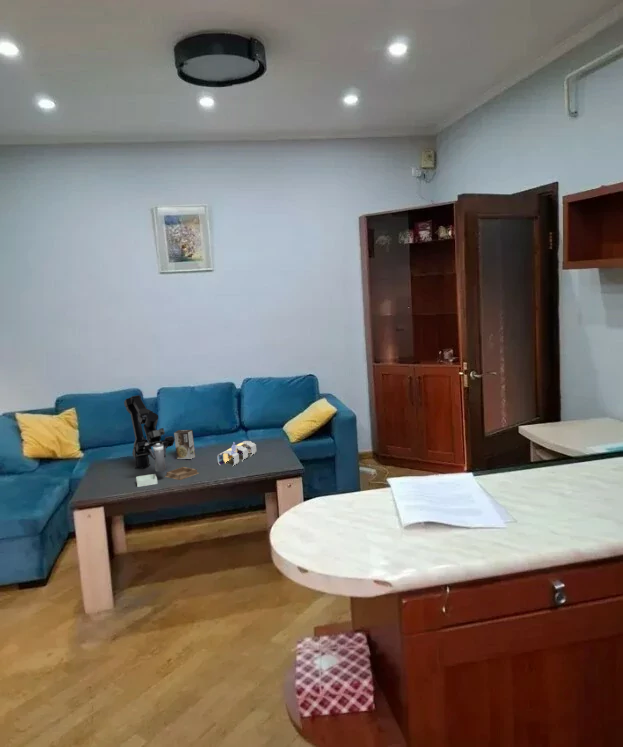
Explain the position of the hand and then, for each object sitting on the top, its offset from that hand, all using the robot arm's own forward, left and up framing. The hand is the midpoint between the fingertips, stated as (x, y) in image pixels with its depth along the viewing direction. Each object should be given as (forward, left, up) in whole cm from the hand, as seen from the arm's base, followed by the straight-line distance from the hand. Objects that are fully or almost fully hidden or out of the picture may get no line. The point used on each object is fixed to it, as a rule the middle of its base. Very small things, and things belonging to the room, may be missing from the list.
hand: (160, 458), depth 298 cm
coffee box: (-5, +42, -13) cm, 44 cm away
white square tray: (-7, -3, -12) cm, 14 cm away
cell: (-1, +1, -7) cm, 7 cm away
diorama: (+28, +38, -13) cm, 49 cm away
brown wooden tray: (+6, +10, -12) cm, 17 cm away
